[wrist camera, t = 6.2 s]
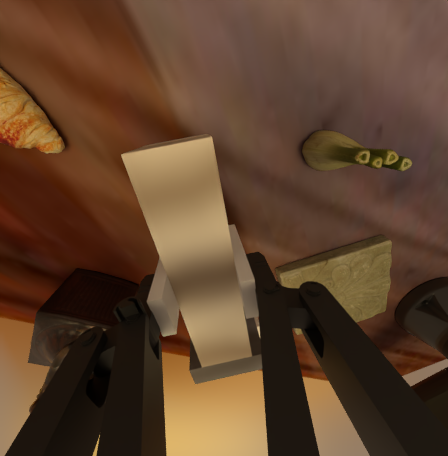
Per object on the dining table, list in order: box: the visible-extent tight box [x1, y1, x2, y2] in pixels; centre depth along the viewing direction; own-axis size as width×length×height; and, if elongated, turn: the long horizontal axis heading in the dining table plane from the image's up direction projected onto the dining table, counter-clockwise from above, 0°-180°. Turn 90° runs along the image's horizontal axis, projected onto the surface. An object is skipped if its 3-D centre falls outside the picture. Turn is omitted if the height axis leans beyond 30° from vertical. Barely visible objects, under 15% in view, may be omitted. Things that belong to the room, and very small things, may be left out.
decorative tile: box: [275, 235, 392, 335], centre depth 40 cm, size 19×20×4 cm
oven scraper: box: [121, 134, 262, 384], centre depth 15 cm, size 18×6×5 cm, turn 10°
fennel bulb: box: [302, 130, 412, 171], centre depth 24 cm, size 6×5×12 cm
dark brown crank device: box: [28, 268, 139, 414], centre depth 28 cm, size 16×11×18 cm
